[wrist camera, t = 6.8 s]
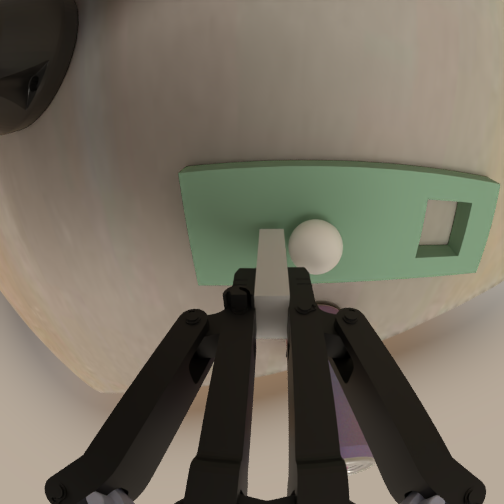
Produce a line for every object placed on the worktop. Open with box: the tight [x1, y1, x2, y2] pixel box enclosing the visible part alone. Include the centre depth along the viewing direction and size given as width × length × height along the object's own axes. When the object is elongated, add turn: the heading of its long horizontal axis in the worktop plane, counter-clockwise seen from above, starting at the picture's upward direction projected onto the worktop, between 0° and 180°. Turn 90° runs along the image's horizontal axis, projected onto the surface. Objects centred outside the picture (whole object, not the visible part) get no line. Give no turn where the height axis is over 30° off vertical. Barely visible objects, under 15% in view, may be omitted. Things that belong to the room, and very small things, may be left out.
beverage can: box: [286, 304, 375, 476], centre depth 19 cm, size 6×6×15 cm
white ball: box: [288, 219, 343, 275], centre depth 17 cm, size 4×4×4 cm
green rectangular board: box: [178, 160, 500, 285], centre depth 19 cm, size 26×9×2 cm, turn 93°
